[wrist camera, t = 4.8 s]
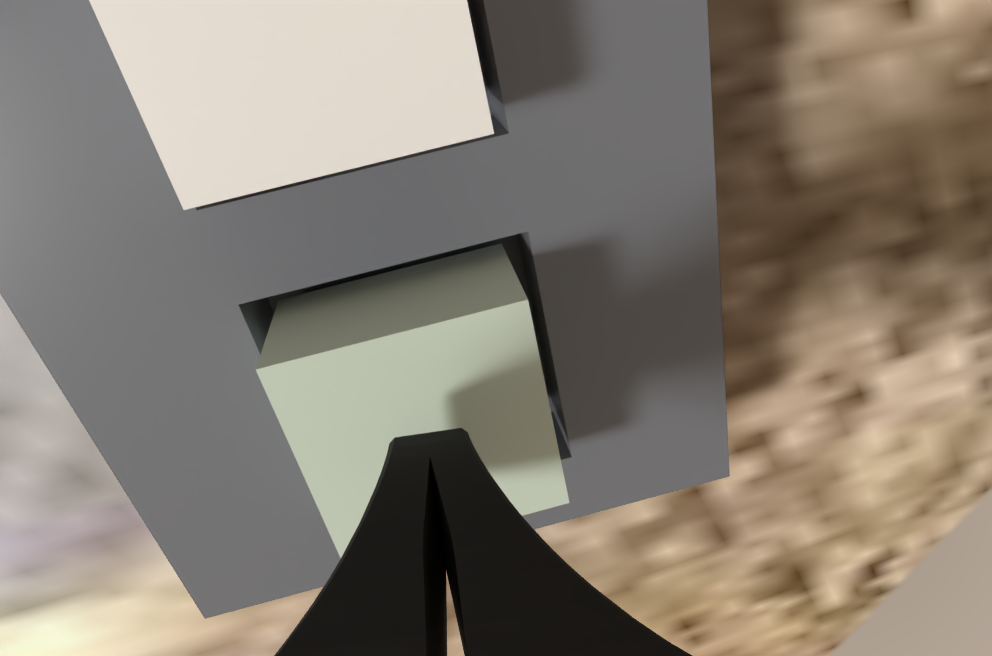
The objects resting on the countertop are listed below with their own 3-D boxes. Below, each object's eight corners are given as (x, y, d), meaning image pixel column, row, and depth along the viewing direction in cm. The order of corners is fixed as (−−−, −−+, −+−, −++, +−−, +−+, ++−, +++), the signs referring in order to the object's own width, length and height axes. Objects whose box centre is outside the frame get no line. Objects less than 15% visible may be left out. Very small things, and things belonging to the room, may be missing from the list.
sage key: (349, 473, 17) (343, 564, 14) (278, 299, 14) (255, 369, 12) (540, 423, 17) (569, 502, 14) (501, 243, 15) (528, 299, 12)
